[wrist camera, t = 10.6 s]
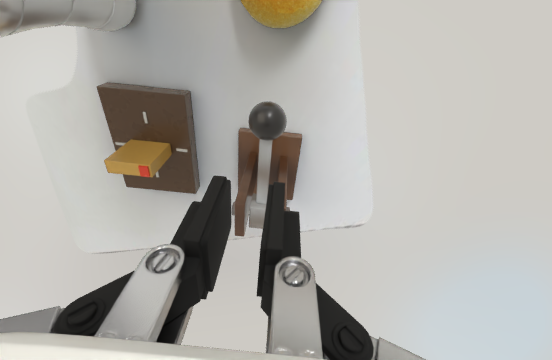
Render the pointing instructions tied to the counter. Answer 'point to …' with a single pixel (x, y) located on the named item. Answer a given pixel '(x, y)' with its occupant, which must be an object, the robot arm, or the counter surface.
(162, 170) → the plate
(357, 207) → the counter surface
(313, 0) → the bread roll
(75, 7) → the plastic bottle
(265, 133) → the door lever
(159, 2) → the counter surface
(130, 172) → the lock knob
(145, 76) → the counter surface
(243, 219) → the handle bracket
